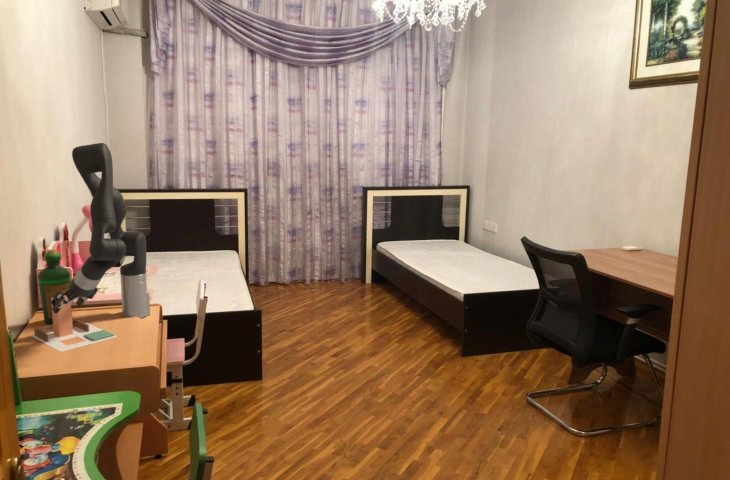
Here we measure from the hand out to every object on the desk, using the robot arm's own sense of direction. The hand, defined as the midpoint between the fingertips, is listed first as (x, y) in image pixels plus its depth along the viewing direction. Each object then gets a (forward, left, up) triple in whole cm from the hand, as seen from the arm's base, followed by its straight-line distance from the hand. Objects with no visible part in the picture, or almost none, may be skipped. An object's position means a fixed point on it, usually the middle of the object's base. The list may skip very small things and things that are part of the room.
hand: (66, 308), depth 195 cm
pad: (-7, +8, -10) cm, 14 cm away
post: (0, -3, -10) cm, 10 cm away
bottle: (-5, -19, -11) cm, 22 cm away
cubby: (0, -3, -10) cm, 10 cm away
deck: (-1, +2, -11) cm, 11 cm away
